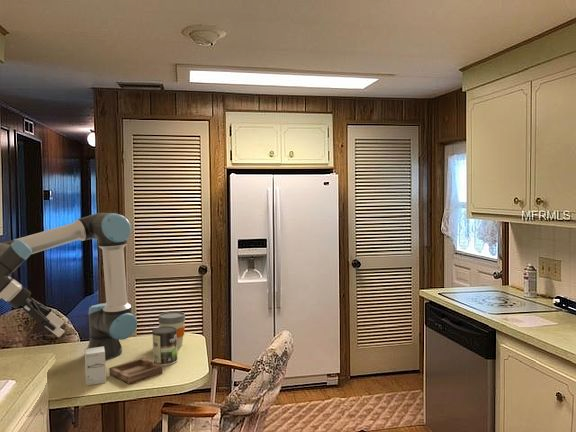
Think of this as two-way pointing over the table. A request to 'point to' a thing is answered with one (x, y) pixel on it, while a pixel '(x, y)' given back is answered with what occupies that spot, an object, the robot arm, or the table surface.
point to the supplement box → (95, 365)
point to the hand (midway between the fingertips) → (61, 329)
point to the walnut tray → (135, 371)
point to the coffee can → (165, 345)
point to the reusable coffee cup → (174, 323)
